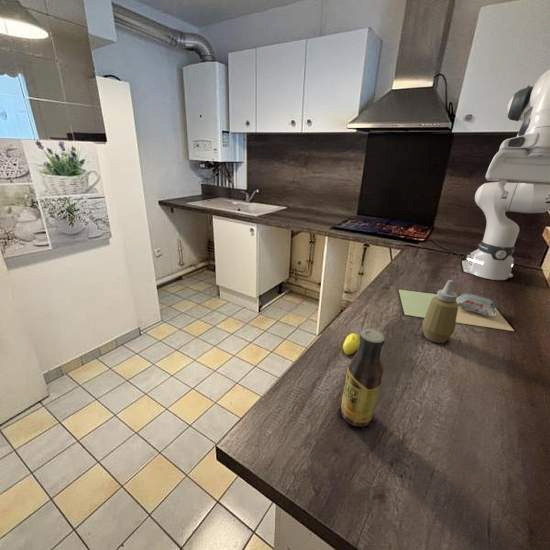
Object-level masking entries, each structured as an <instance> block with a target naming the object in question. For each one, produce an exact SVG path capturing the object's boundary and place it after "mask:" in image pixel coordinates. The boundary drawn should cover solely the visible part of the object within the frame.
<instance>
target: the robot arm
mask: <svg viewBox="0 0 550 550" xmlns="http://www.w3.org/2000/svg"><path fill="white" fill-rule="evenodd" d="M506 114H507V118H508V119H509V120H510V121H513V122H514V121H515V122H519V121H522V124H521V125H520V128H519V129H518V132H517V135H516V136H514V137H510V138H506V139H505V140H503V141H502V142H501V144H500V145H499V149H498V151H497V152H496V153H495V154H494V156H493V158H492V159H491V162H490V163H489V166H488V168H487V171H486V173H485V176H484V177H485V179H486V181H488V182H484V183H483V184H481V185H480V186H479V187H478V188H477V190H476V191H475V194H474V201H475V204H476V205H477V206H478V208H480V209H481V211H482V212H483V215H484V216H485V221H486V223H485V224H486V225H485V231H484V234H483V238H482V240H481V241H480V243H479V244H478V247H477V248H476V249H475V250H474V251H466V252H465V254H464V255H463V257H462V256H461V254H460V253H459V252H456V251H455V250H452V249H450V248H448V247H446V246H444V245H442V244H441V243H439V242H438V241H436V239H434V238H433V237H431V238H432V239H433V240H432V239H431V238H429V240H430V241H431V240H432V242H433V243H435V244H436V245H437V246H439V247H440V248H443V249H445V250H446V251H449V252H451V253H453V254H456V255H457V256H458V257H459V258H460V259H461V260H462V261H461V265H462V270H463V272H464V273H467V274H471V275H473V276H476V277H478V278H479V277H480V278H483V279H486V280H487V279H488V280H492V281H506V280H508V279H509V278H510V279H511V278H513V277H514V274H513V273H512V268H513V266H514V260H515V259H514V257H513V256H512V255H513V254H514V252H515V248H516V247H515V244H516V241H517V238H518V236H519V233H520V226H519V225H518V224H517V222H515V221H514V220H513V219H510V218H508V217H507V215H506V212H513V213H522V214H544V213H547V212H548V211H549V210H550V68H549V69H547V70H546V71H545V72H544V73H543V74H542V75H540V77H539V78H538V79H537V81H536V82H535V84H533V86H530V84H529V85H526V87H524V88H521V89H520V90H518V91H516V92H515V93H514V94H513V96H512V97H511V99H510V100H509V101H508V104H507V108H506Z"/></svg>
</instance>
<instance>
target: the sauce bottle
mask: <svg viewBox="0 0 550 550" xmlns="http://www.w3.org/2000/svg"><path fill="white" fill-rule="evenodd" d="M359 337H360V338H359V339H360V344H359V348H358V350H357V351H356V352H355V354H354V356H353V357H352V359H351V360H350V362H349V363H348V366H347V369H346V376H345V381H344V386H343V391H342V398H341V405H340V407H341V409H340V413H341V416H342V418H343V419H344V420H345V421H346V422H347V424H349V425H350V426H354V427H359V428H362V427H366V426H368V425H369V424H370V423H371V422H372V421H373V417H374V413H375V409H376V405H377V401H378V397H379V393H380V389H381V385H382V379H383V374H384V365H383V363H382V359H381V353H382V348H383V346H384V344H385V340H386V338H385V335H384V334H383V333H382V332H381V331H379V330H377V329H375V328H365V329H363V330H362V331H361V332H360V334H359Z"/></svg>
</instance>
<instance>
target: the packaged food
mask: <svg viewBox="0 0 550 550" xmlns="http://www.w3.org/2000/svg"><path fill="white" fill-rule="evenodd" d="M457 297H458V298H459V301H458V302H457V303H458V307H459V308H461V309H464V310H468V311H471V312H475V313H478V314H482V315H487V316H495V315H496V313H495V312H496V311H495V310H494V308H496V309H497V308H499V305H498V304H497V303H496V302H495V301H494V300H492V299H491V298H487V297H484V296H479V295H476V294H473V293H465V292H464V293H462V294H460V295H457Z"/></svg>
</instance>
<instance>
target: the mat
mask: <svg viewBox="0 0 550 550" xmlns="http://www.w3.org/2000/svg"><path fill="white" fill-rule="evenodd" d="M398 293H399V297H400V301H401V305H402V309H403V314H404V316H410V317H416V318H423V319H424V317H425V315H426V312H427V310H428V307H429V305H430V302H431V300H432V298H433V297H435V296H437V293H429V292H422V291H415V290H405V289H398ZM458 301H459V298H458V296H457V298H456V302H458ZM494 310H495V311H496V312H495V313H496V315H495V316H487V315H482V314H478V313H475V312H471V311H468V310H464V309H461V308H459V307H458V311H457V317H456V323H457V324H463V325H470V326H476V327H481V328H489V329H496V330H501V331H509V332H515V330H514V329H513V327H512V326H511V325H510V324H509V323H508V321H507V320H506V319H505V318H504V316H502V314H501V313H500V311H498V309H497V308H494ZM456 323H455V324H456Z"/></svg>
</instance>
